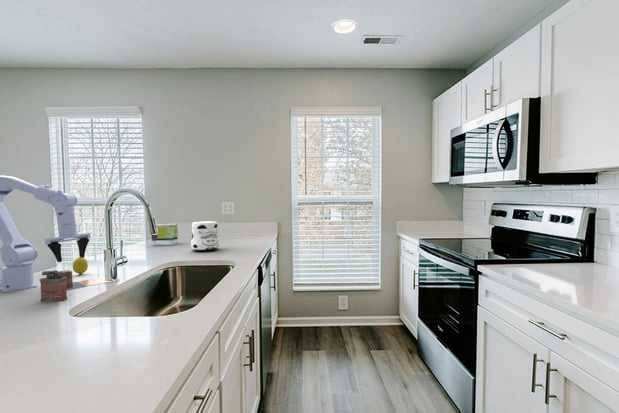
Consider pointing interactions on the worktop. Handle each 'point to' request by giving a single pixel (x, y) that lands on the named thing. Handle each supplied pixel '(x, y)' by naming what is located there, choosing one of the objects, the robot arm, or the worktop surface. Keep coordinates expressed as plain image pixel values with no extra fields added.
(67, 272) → the walnut block
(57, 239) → the robot arm
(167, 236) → the tea box
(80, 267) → the lemon
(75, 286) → the mat
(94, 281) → the tile
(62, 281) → the lighter
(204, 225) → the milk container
